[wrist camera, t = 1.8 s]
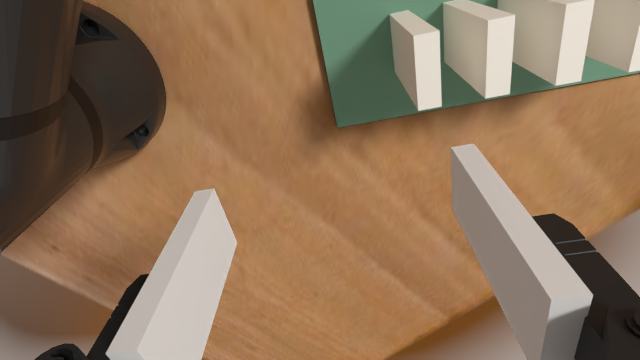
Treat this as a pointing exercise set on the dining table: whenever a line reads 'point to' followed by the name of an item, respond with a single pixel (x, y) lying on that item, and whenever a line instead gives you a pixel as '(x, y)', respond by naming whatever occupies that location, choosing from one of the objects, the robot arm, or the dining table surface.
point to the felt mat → (378, 63)
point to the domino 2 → (479, 45)
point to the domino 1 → (417, 58)
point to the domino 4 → (615, 34)
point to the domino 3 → (551, 37)
